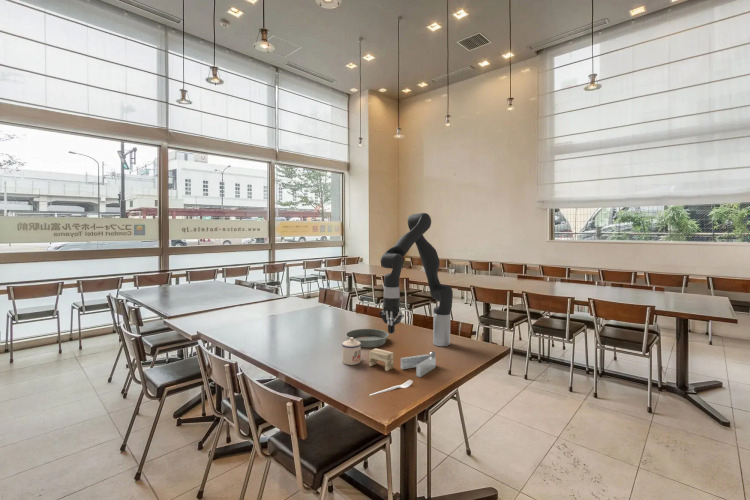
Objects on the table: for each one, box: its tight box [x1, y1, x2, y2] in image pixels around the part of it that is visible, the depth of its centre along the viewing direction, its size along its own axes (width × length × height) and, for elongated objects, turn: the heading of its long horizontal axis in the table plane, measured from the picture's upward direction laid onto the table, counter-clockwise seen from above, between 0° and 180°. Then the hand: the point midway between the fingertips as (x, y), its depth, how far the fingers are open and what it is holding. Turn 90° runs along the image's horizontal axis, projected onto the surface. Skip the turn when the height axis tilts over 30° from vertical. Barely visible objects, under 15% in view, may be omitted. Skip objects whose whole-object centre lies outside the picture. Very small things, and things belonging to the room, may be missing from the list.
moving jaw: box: [400, 350, 436, 370], centre depth 164 cm, size 17×4×6 cm, turn 114°
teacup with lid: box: [341, 337, 362, 366], centre depth 171 cm, size 12×9×12 cm
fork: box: [369, 379, 414, 396], centre depth 140 cm, size 3×20×2 cm, turn 122°
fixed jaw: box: [415, 356, 437, 378], centre depth 159 cm, size 14×2×5 cm, turn 143°
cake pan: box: [344, 328, 390, 348], centre depth 203 cm, size 25×25×4 cm
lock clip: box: [368, 347, 394, 372], centre depth 164 cm, size 5×10×7 cm, turn 54°
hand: (391, 332), depth 168 cm, fingers closed
